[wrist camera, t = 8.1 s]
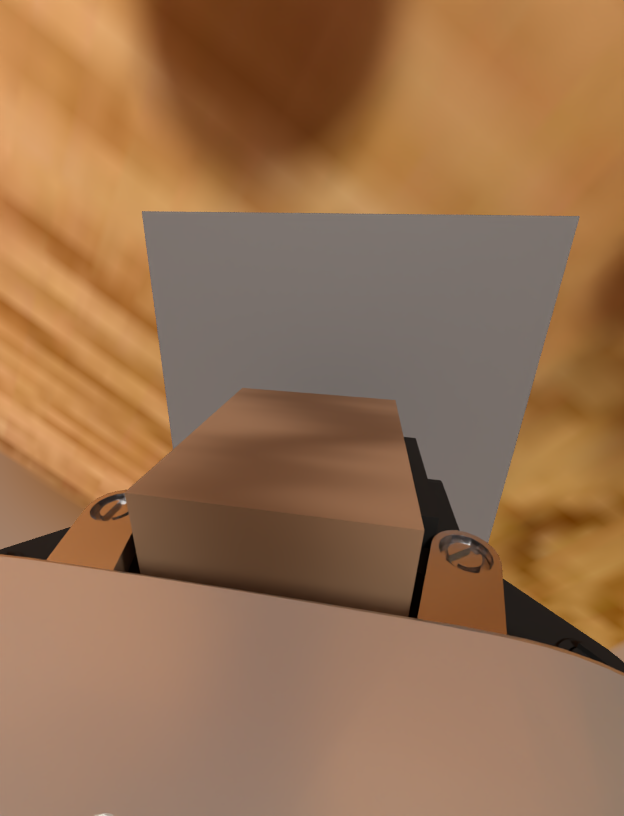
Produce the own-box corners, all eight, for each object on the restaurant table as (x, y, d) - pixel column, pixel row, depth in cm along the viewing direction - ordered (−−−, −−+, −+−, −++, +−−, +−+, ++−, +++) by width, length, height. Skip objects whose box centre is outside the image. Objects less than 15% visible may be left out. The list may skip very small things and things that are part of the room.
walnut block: (395, 400, 11) (424, 530, 5) (379, 527, 13) (387, 725, 7) (242, 387, 11) (124, 492, 6) (247, 511, 13) (161, 680, 8)
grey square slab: (529, 230, 15) (579, 216, 12) (460, 521, 21) (479, 573, 17) (190, 224, 17) (141, 211, 14) (213, 490, 23) (184, 531, 20)
